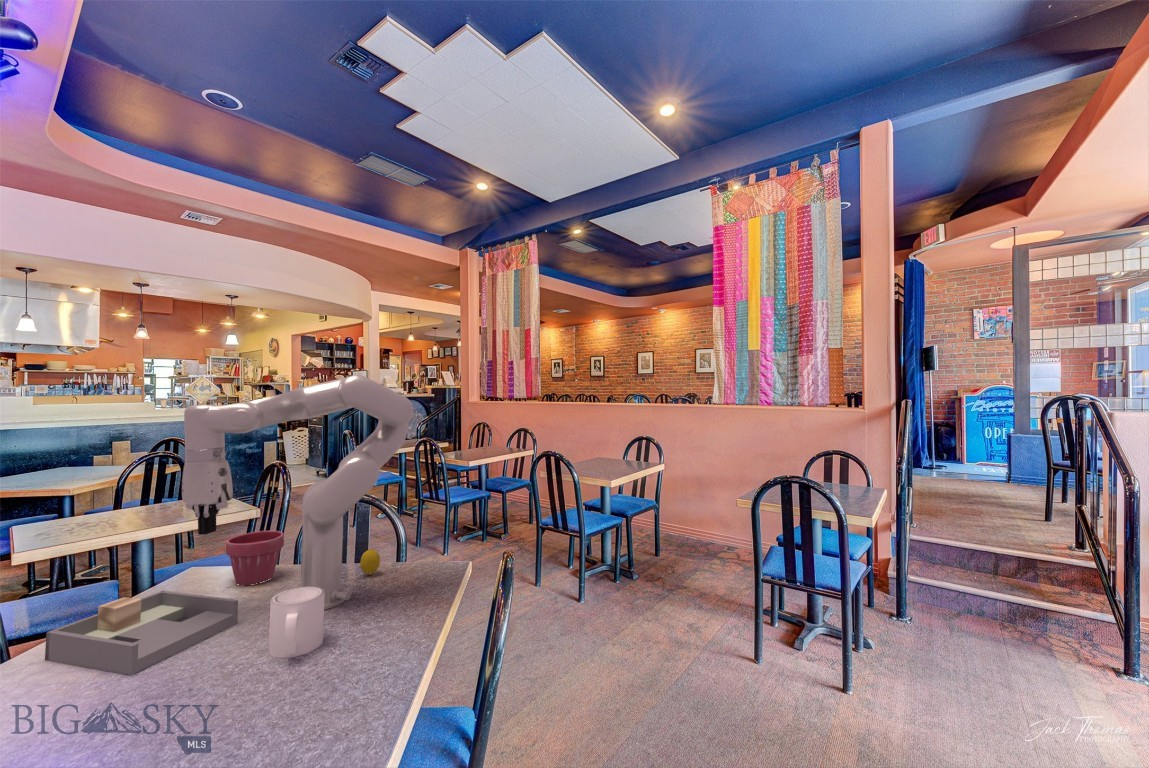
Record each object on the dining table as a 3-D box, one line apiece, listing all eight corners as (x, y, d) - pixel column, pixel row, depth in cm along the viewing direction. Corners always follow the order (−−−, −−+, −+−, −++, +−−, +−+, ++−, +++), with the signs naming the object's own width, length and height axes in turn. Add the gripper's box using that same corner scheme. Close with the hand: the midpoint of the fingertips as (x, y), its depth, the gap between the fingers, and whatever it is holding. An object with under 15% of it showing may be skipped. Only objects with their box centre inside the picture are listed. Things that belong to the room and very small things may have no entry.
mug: (320, 659, 96) (322, 606, 97) (261, 670, 92) (263, 615, 92) (324, 630, 108) (326, 583, 109) (272, 639, 104) (274, 590, 105)
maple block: (140, 621, 107) (141, 599, 107) (114, 632, 102) (115, 608, 102) (123, 619, 108) (124, 597, 108) (97, 629, 103) (98, 606, 103)
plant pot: (211, 587, 133) (213, 541, 134) (255, 570, 147) (257, 528, 147) (252, 592, 130) (254, 545, 130) (293, 574, 143) (295, 532, 144)
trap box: (237, 623, 111) (238, 599, 112) (131, 675, 90) (132, 646, 90) (162, 613, 117) (163, 590, 117) (44, 659, 95) (46, 632, 95)
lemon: (372, 579, 140) (373, 552, 140) (355, 577, 141) (356, 550, 141) (383, 572, 145) (384, 546, 146) (367, 571, 146) (368, 545, 147)
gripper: (245, 453, 115) (247, 528, 115) (195, 454, 118) (196, 527, 117) (216, 458, 107) (219, 538, 107) (163, 458, 110) (165, 537, 110)
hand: (207, 532), depth 112 cm, fingers closed
